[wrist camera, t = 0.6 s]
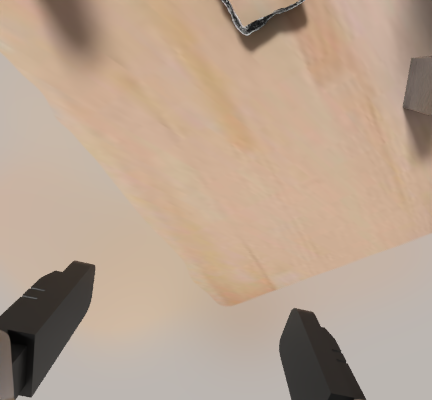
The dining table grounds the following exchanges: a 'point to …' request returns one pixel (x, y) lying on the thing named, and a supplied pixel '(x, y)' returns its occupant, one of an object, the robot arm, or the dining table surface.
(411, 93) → the bracket
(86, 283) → the robot arm
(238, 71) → the dining table surface
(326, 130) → the dining table surface
